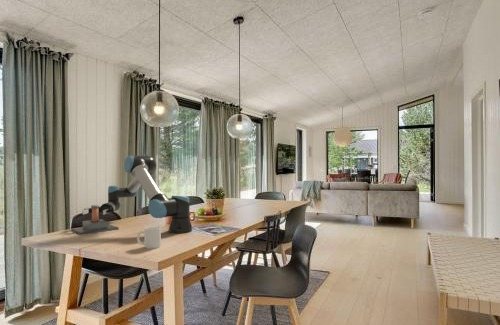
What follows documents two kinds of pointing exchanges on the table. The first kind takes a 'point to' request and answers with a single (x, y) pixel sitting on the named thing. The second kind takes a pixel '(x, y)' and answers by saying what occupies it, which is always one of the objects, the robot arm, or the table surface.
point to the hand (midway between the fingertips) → (93, 212)
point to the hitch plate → (83, 231)
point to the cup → (151, 237)
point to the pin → (95, 213)
